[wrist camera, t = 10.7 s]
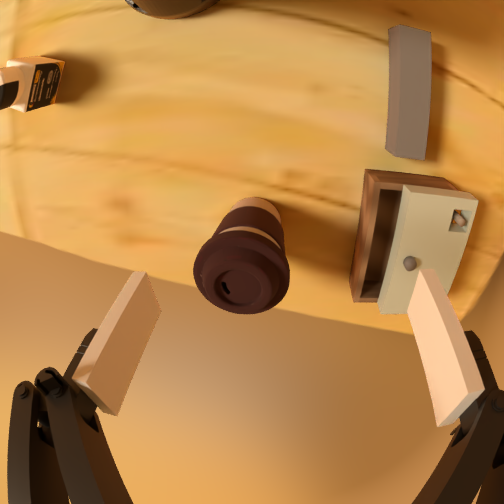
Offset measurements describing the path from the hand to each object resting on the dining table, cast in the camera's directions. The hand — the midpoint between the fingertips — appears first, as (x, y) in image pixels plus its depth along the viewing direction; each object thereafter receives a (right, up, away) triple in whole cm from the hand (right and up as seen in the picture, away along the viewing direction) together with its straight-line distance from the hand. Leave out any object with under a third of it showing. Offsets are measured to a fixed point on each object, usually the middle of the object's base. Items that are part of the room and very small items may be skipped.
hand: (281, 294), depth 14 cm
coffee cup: (-1, +6, +28) cm, 29 cm away
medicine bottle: (-33, +29, +18) cm, 48 cm away
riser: (+17, +22, +15) cm, 32 cm away
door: (+22, +2, +21) cm, 30 cm away
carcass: (+19, +5, +26) cm, 33 cm away
